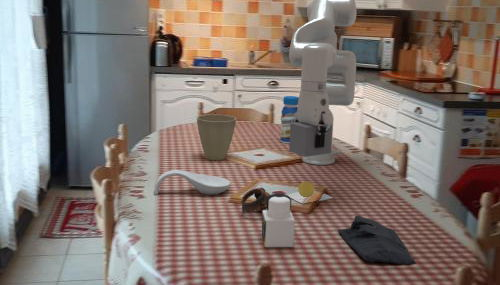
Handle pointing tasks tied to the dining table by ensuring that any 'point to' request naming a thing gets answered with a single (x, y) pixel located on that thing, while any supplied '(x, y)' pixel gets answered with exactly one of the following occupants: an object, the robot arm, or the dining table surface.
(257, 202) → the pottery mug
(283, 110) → the beverage bottle
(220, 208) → the dining table surface
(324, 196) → the pale gray panel
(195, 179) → the spoon rest
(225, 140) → the plant pot
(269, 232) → the medicine bottle
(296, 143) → the plain gray box
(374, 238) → the dark gray folded cloth
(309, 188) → the ball
